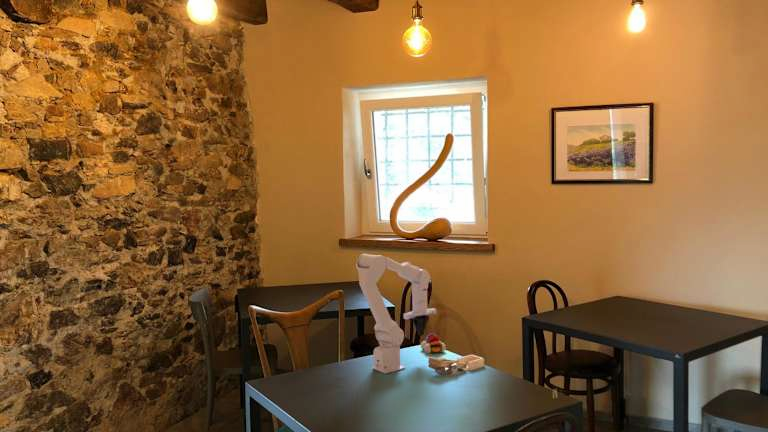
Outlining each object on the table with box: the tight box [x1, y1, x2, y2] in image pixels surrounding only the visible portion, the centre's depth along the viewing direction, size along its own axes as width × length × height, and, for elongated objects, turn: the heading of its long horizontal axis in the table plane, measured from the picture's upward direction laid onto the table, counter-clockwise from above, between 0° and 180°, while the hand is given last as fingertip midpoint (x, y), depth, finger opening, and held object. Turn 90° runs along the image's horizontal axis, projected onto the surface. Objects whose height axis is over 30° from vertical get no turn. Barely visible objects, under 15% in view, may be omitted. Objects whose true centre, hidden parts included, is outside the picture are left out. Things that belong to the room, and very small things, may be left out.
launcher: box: [427, 357, 467, 371], centre depth 224 cm, size 14×12×3 cm
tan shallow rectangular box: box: [456, 354, 485, 372], centre depth 227 cm, size 9×6×3 cm
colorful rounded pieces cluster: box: [420, 332, 447, 355], centre depth 248 cm, size 8×10×7 cm
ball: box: [469, 355, 478, 362], centre depth 229 cm, size 3×3×3 cm
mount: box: [434, 363, 462, 378], centre depth 221 cm, size 5×9×4 cm, turn 35°
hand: (420, 334), depth 238 cm, fingers closed
